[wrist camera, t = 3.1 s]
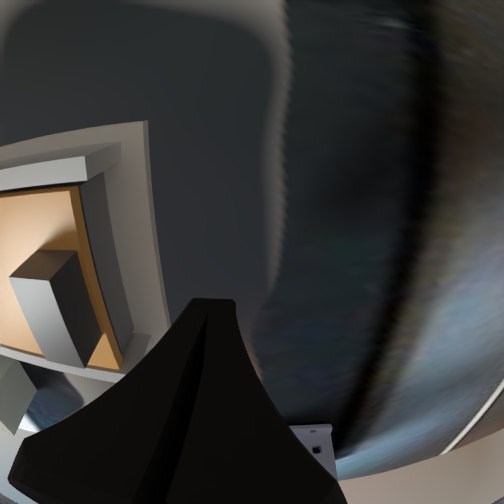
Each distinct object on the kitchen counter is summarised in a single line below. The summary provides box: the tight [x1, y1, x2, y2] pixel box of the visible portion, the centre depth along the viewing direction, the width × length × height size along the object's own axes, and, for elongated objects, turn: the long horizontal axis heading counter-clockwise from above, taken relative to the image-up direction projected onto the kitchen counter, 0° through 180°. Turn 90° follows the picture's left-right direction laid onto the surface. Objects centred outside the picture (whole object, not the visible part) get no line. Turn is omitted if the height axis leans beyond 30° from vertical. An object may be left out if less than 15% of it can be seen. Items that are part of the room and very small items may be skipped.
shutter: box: [0, 186, 123, 370], centre depth 10 cm, size 8×8×3 cm
